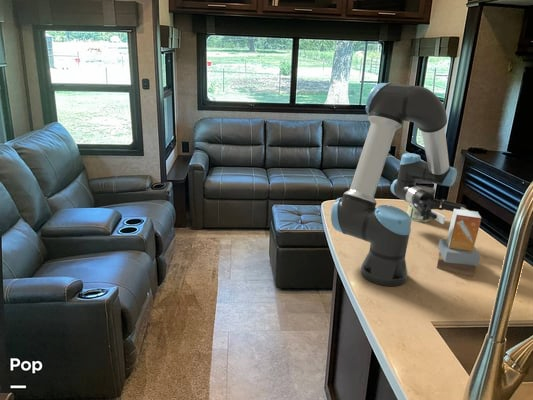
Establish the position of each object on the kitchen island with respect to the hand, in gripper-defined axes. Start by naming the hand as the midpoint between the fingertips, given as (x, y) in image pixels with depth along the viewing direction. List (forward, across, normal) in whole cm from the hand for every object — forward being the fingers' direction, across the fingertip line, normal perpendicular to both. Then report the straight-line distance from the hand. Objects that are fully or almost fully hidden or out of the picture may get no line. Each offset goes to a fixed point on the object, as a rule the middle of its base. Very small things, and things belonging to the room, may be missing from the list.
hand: (459, 218), depth 150 cm
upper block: (+3, +1, -13) cm, 14 cm away
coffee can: (-38, -16, -17) cm, 45 cm away
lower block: (+3, 0, -17) cm, 18 cm away
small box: (+3, 0, -10) cm, 10 cm away
